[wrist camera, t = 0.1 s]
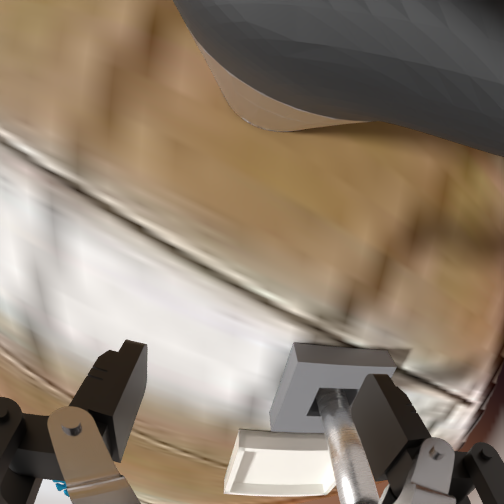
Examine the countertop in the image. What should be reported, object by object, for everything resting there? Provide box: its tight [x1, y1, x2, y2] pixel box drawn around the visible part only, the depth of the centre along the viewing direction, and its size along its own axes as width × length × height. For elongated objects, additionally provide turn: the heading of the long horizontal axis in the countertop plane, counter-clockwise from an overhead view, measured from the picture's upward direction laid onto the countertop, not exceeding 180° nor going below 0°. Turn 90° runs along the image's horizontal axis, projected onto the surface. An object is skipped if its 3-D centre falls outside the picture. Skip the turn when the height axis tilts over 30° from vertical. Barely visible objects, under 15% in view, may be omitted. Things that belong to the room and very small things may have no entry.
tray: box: [224, 429, 336, 496], centre depth 37 cm, size 15×17×3 cm
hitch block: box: [269, 343, 397, 433], centre depth 31 cm, size 11×11×3 cm
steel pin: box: [316, 388, 380, 504], centre depth 24 cm, size 5×5×18 cm
